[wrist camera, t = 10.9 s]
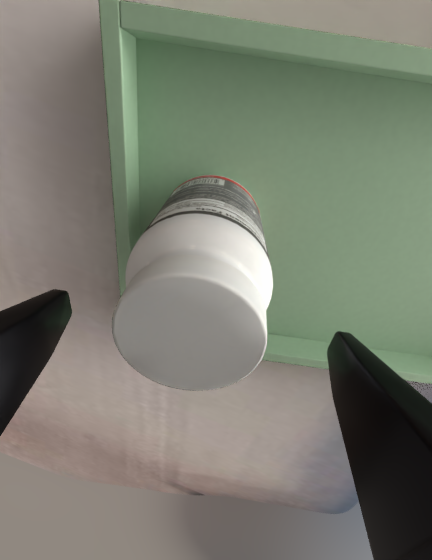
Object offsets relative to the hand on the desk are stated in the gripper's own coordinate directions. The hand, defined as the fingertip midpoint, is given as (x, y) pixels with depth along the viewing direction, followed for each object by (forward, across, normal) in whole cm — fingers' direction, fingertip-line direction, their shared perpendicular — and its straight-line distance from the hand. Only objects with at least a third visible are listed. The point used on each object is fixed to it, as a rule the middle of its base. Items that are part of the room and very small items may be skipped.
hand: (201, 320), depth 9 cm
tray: (+9, -8, 0) cm, 12 cm away
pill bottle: (+9, 0, 0) cm, 9 cm away
